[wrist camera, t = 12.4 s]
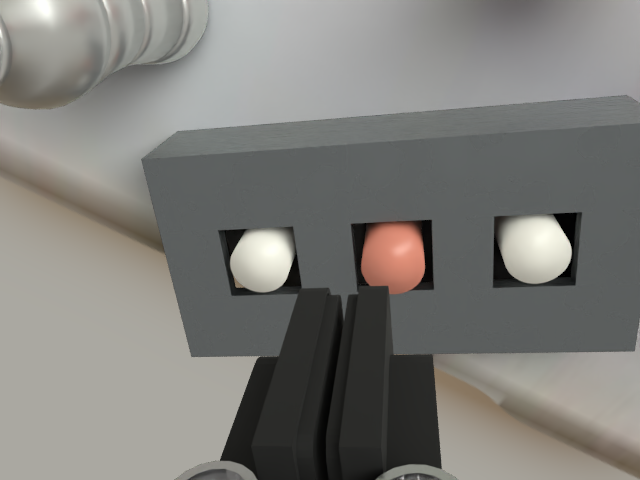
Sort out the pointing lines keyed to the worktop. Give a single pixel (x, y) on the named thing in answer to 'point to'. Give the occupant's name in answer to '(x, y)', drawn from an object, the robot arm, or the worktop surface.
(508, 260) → the cream plug
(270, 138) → the panel
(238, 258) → the cream plug
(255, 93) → the worktop surface
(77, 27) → the plastic bottle
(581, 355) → the worktop surface
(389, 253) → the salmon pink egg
